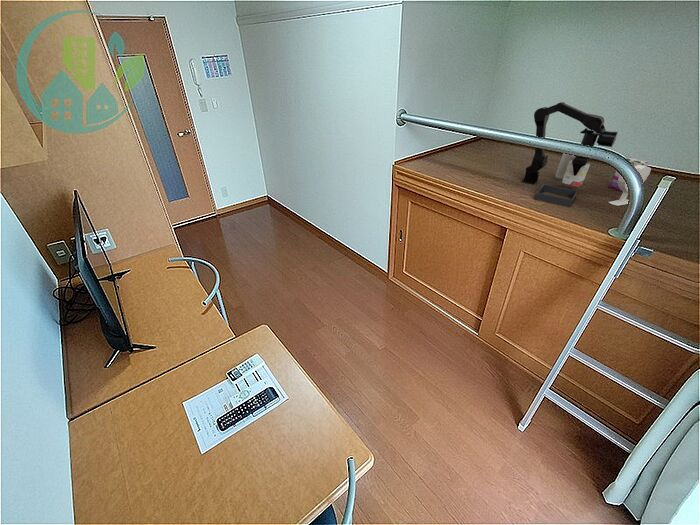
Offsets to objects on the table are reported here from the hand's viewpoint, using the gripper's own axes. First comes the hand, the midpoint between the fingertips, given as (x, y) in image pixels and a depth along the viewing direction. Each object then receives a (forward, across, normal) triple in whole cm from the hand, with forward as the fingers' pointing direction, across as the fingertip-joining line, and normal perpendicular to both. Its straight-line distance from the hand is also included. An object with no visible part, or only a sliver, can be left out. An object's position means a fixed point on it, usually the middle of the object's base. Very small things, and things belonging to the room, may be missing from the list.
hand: (575, 174), depth 170 cm
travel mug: (+9, +19, +8) cm, 23 cm away
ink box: (+6, 0, 0) cm, 6 cm away
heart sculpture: (+9, -2, -23) cm, 25 cm away
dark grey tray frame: (+9, -16, +4) cm, 19 cm away
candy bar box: (+9, +18, -22) cm, 30 cm away
